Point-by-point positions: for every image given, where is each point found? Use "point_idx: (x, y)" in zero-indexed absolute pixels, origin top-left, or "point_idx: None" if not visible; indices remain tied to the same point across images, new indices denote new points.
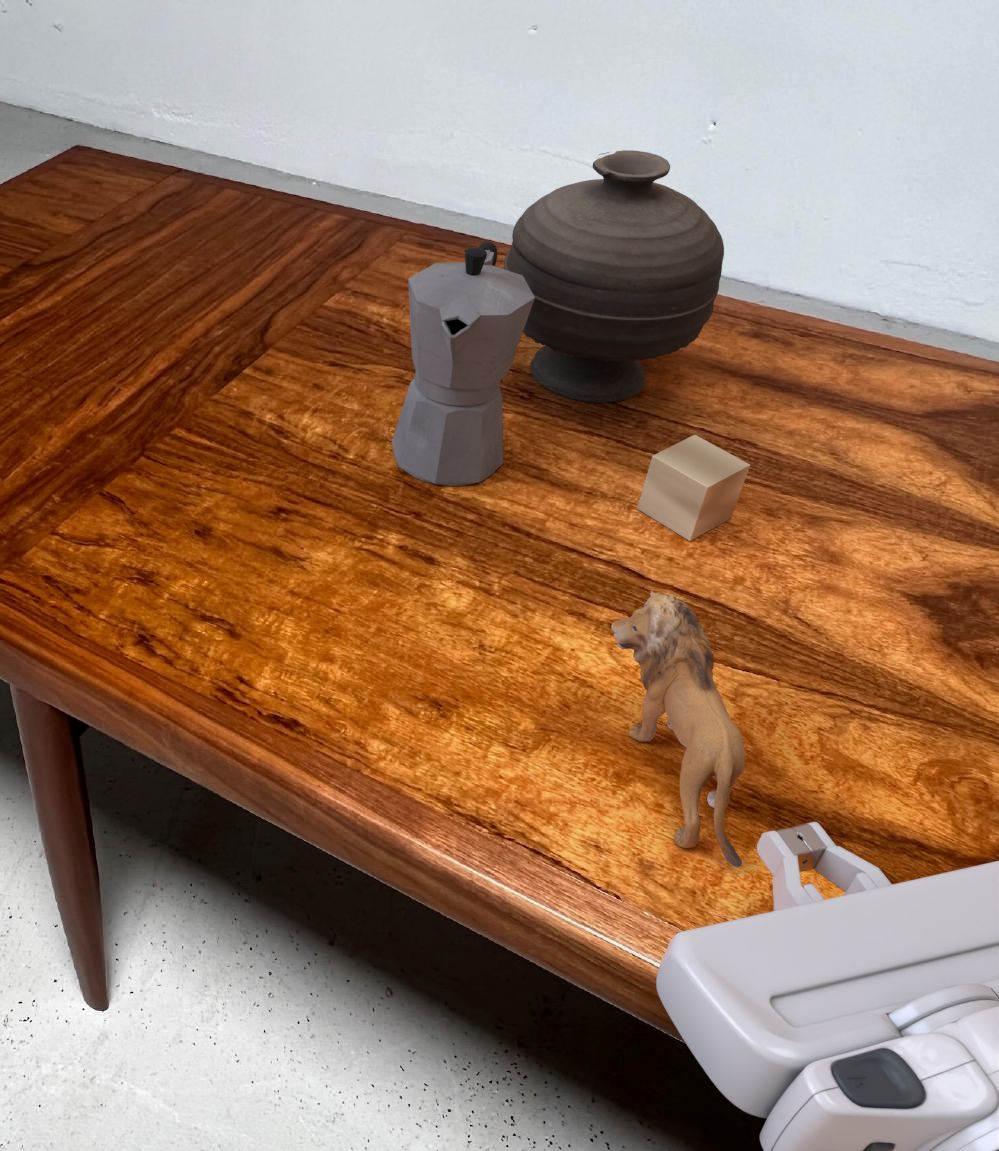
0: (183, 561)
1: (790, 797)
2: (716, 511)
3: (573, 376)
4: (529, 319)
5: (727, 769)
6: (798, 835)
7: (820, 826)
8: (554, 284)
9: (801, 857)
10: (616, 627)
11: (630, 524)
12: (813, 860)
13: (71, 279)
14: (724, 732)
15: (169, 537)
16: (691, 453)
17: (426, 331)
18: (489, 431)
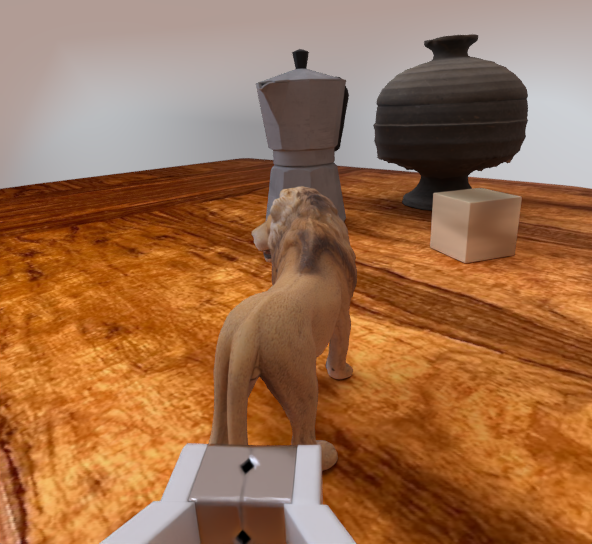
0: (66, 249)
1: (447, 476)
2: (491, 238)
3: (424, 195)
4: (381, 144)
5: (240, 349)
6: (250, 462)
7: (317, 453)
8: (390, 111)
9: (217, 516)
10: (255, 230)
11: (417, 253)
12: (267, 540)
13: (183, 178)
14: (266, 298)
15: (77, 241)
16: (469, 192)
17: (264, 106)
18: (320, 191)
